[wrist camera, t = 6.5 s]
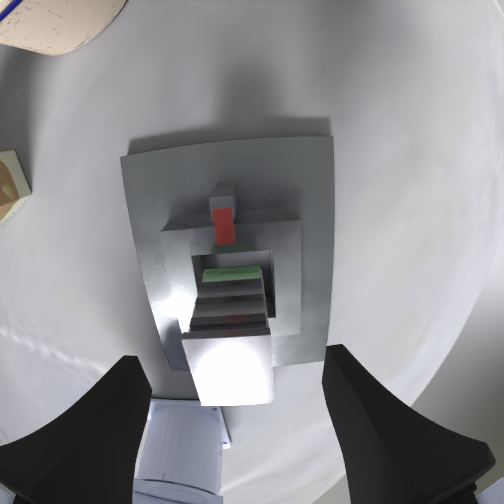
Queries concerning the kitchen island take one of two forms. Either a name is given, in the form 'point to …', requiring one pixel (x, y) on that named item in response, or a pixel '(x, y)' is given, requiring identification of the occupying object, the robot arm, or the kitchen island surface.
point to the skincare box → (11, 186)
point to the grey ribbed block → (230, 338)
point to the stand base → (237, 231)
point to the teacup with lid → (54, 23)
